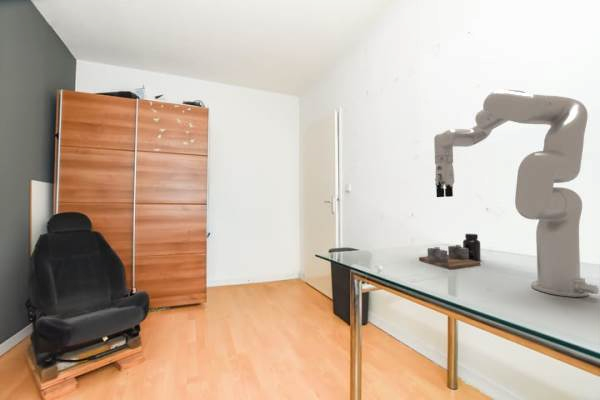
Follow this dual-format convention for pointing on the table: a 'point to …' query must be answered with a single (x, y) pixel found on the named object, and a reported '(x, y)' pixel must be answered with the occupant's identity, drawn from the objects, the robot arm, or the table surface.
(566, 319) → the table surface
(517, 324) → the table surface
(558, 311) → the table surface
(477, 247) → the supplement bottle
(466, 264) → the bottle cradle
